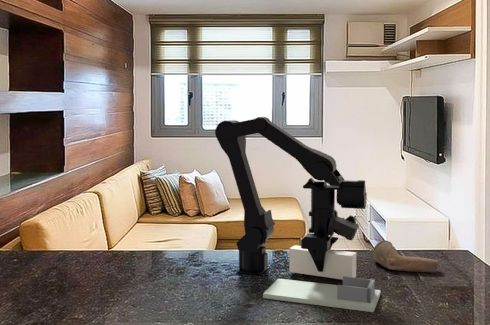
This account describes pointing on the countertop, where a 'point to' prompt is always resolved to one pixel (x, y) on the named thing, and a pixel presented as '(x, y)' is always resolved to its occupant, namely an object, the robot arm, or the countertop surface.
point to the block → (334, 263)
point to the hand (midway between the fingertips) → (322, 269)
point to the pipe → (401, 259)
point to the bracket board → (327, 293)
